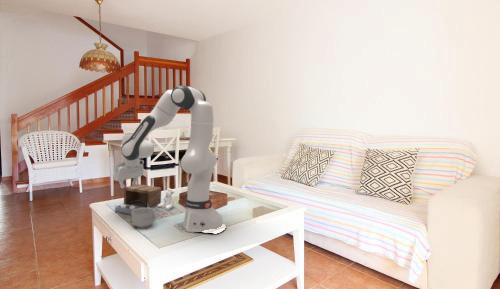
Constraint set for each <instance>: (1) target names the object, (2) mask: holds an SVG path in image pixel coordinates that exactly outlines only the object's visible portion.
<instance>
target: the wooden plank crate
mask: <svg viewBox="0 0 500 289" xmlns="http://www.w3.org/2000/svg"><path fill="white" fill-rule="evenodd" d="M123 189H124V190H123V192H124V193H123V204H126V205H129V204H132V203H134V201H135V202H137V201H136V200H139V201H138V202H142V201H143V202H142V203H147V204H146V205H147V206H146V208H147V207H150V208H155V207H157V205H158V204H160V203H162V201H161V200H162V187H160V186H153V185H146V184H139V183H136V185H128V186H125V188H123Z"/></svg>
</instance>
